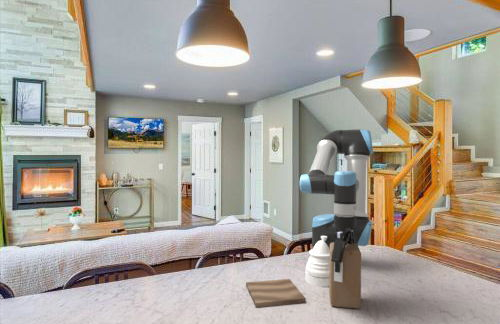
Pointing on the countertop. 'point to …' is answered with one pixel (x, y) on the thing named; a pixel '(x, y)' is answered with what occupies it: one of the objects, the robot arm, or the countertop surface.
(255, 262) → the countertop surface
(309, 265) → the honey pot
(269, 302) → the walnut board
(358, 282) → the wooden block
